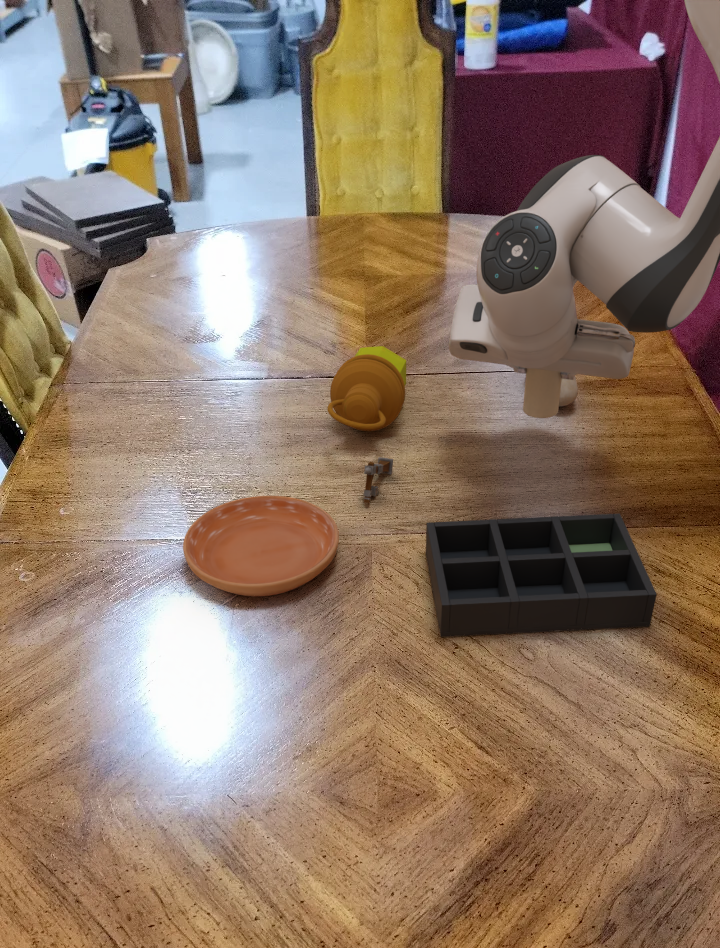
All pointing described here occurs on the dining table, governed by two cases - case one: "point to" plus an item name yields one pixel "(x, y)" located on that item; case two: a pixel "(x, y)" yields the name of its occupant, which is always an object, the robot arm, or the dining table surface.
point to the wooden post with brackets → (382, 467)
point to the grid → (536, 575)
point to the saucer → (261, 545)
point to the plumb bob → (369, 389)
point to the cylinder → (541, 393)
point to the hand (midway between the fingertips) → (545, 369)
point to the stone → (568, 391)
